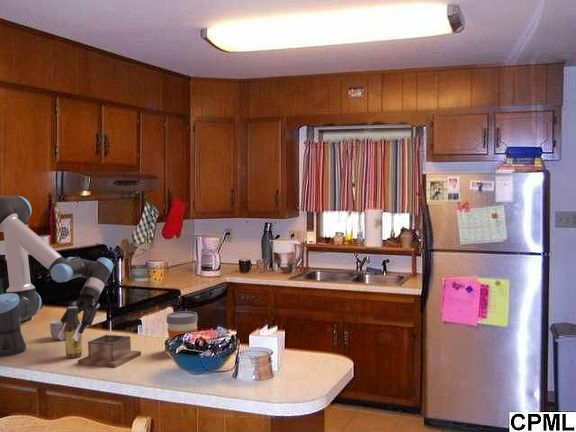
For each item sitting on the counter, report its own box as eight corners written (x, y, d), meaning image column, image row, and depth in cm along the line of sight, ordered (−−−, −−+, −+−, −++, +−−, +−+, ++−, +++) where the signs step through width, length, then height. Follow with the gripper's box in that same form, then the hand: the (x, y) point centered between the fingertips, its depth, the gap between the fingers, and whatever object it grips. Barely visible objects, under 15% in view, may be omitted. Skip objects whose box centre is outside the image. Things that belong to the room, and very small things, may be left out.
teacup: (45, 341, 275) (44, 323, 274) (60, 334, 285) (59, 317, 285) (73, 342, 271) (72, 324, 271) (87, 336, 282) (86, 318, 281)
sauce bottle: (77, 359, 244) (74, 309, 243) (62, 358, 246) (60, 308, 245) (85, 354, 251) (83, 305, 250) (71, 353, 252) (69, 305, 251)
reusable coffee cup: (195, 345, 261) (193, 309, 260) (202, 352, 249) (200, 315, 248) (165, 348, 256) (163, 312, 255) (170, 356, 244) (169, 319, 244)
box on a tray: (78, 364, 237) (77, 343, 237) (105, 352, 253) (104, 332, 253) (115, 367, 232) (114, 346, 231) (141, 355, 248) (140, 335, 247)
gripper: (115, 296, 258) (92, 345, 244) (77, 295, 265) (52, 342, 250) (107, 286, 253) (82, 335, 239) (68, 284, 259) (42, 332, 245)
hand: (67, 339), depth 244 cm, fingers closed on sauce bottle, 6 cm apart
